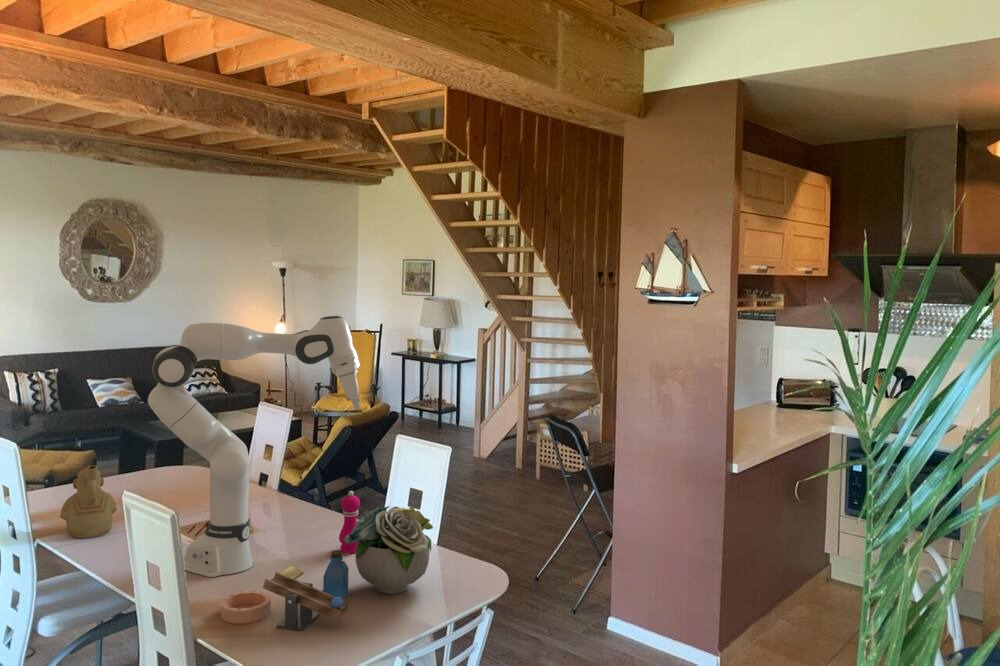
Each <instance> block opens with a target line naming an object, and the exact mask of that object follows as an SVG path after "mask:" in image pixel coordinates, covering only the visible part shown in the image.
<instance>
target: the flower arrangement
mask: <svg viewBox="0 0 1000 666" xmlns="http://www.w3.org/2000/svg"><path fill="white" fill-rule="evenodd" d="M390 507H391V506H381V507H378V506H377V507H376V508H375V509H373V510H371V511H370V512H368V511H367V510H365V511H364V512H363V514H362V515H363V516H362V517H361V518H359V520H357V523H356V525H355V527H354V528H353V531H352V532H351V534H348V535H347V536H346V537H345V539H344V541H345V542H346V543H353V542H356V541H358V542H359V543H358V545H357V546H356V553H355V565H356V568H357V570H358V573H359V575H360V576H361V579H364V580H365V581H366V582H367V583H369V584H371V585H373V586H375V587H376V589H377V590H378V592H380V593H383V594H388V595H390V594H391V595H395V593H396V594H400V593H403V592H405V591H406V590H407V589H408V586H410V585H411V584H414V583H415V582H416V581H418V580H419V579H421V577H423V576H424V575H425V574H426V571H427V569H428V565H429V562H430V552H432V539H431V538H430V537H429V536H428V535H426V534H424V530H432V529H433V528H434V527H433V526H434V525H433V524H432V523H431V522H430V521H431V520H430V519H429V518H427V517H426V516H424V515H423V514H422V512H421V511H420V510H415V507H414V506H410V507H409V506H408V508H406V507H400V506H393V507H391V508H390ZM388 508H390V509H388ZM387 509H388V511H387Z"/></svg>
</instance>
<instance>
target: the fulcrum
mask: <svg viewBox="0 0 1000 666" xmlns="http://www.w3.org/2000/svg"><path fill="white" fill-rule="evenodd" d="M301 582H302V581H301ZM302 583H304V584H307V585H309V586H311V587H313V586H314V585H313V583H311V582H302ZM284 599H285V600H284V602H285V603H284V605H285V606H284V607H285V609H284V618H283V619H282V620H280V622H278V623H277V624H276V629H281V630H288V631H293V632H294V631H295V632H300V633H301V632H303V631H304V630H305V629H307V627H309V626H310V625H311V624H312V623H313V622H314V621H315V620H317V619H318V618H319V617H320V616H321V613H319V612H316V611H314V610H312V609H310V608H307V607H305V606H303V605H300V604H298V595H295V594H288V593H287V594H286V595H285V598H284Z"/></svg>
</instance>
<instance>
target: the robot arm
mask: <svg viewBox="0 0 1000 666" xmlns="http://www.w3.org/2000/svg"><path fill="white" fill-rule="evenodd" d="M180 339H181V340H180V343H179V344H173V345H168V346H167V347H164V348H163V349H162V350H160V351H159V352H158V353H157V354H156V356H155V358H154V360H153V363H152V366H151V368H152V369H151V372H152V375H153V377H154V379H155V381H157V385H156V386H155V387H154V388H153V389H152V390H151V391H150V393H149V394H148V397H147V403H148V406H149V408H150V409H151V410H152V411H153V412H154V414H155V415H156V417H157V418H158V419H159V421H161V423H163V424H164V425H165V426H166V427H167V429H169V430H170V431H171V432H172V433H173V434H174V435H175V436H177V438H179V440H180V441H182V442H183V443H184V445H186V446H187V447H188V448H190V449H192V450H193V451H195V452H196V453H197V454H199V455H200V456H201V457H203V458H204V459H205V460H207V461H208V462H209V464H210V465H209V470H210V471H209V476H210V477H209V480H210V481H209V486H210V487H209V499H210V501H209V503H210V504H209V506H210V507H209V515H210V516H209V521H207V522H206V523H204V524H202V525H201V526H202V527H201V529H202V530H203V529H205V530H204V533H203V534H201V535H200V536H198V537H197V538H196V539H195V540H194V541H192V542H191V543H189V545H188V546H187V548H186V551H185V555H184V561H185V568H186V571H185V572H190V573H194V574H196V575H200V576H201V575H202V576H205V577H208V578H215V577H218V576H222V575H223V576H224V575H232V574H237V573H240V572H245V571H247V570H248V569H250V568H251V567H253V566H254V560H253V557H252V551H251V545H250V532H251V524H250V523H251V522H250V521H251V520H250V518H249V490H250V489H249V487H250V456H249V450H248V447H247V445H246V443H244V441H242V439H240V438H239V437H238V436H237V435H236V434H235V433H234V432H232V431H231V430H230V429H229V428H227V427H226V426H225V425H224V424H222V423H221V422H220V421H219V420H218V419H216V418H215V416H213V415H212V413H210V412H209V410H207V409H206V407H204V406H203V405H202V404H201V403H200V402H199V401H198V400H197V399H196V398H195V397H194V396H192V394H190V392H189V391H188V389H187V388H186V383H187V382H188V381H189V380H190V378H191V377H192V376H193V374H194V371H195V367H196V366H197V363H198V362H199V361H202V360H216V361H237V360H238V361H239V360H244V359H247V358H249V357H252V356H253V355H259V354H268V353H269V354H278V355H280V354H283V355H284V354H285V355H291V356H293V357H296V358H297V359H298V360H299V361H300V362H301V363H304V364H305V365H314V364H315V365H316V364H319V363H320V362H321V361H323V360H326V359H327V358H328V362H329V365H330V369H331V371H332V374H334V375H335V377H336V378H338V379H339V381H340V385H341V387H342V389H343V392H344V394H345V397H347V399H348V400H350V401H351V403H352V406H353V409H354V410H357V411H358V410H359V409H360V408H361V406H360V405H361V404H360V397H359V395H360V394H359V383H358V378H357V374H358V372H359V371H358V368H359V367H361V364H360V360H359V357H358V353H357V350H356V349H355V347H354V344H353V336H352V333H351V329H350V328H349V325H348V323H347V320H346V319H345V318H344V317H342V316H341V315H340V316H339V315H329V316H323V317H321V318H319V320H318V321H317V323H316V324H315V325H313V327H311V328H310V329H307V330H301V331H299V332H295V333H292V334H289V333H287V334H285V333H273V332H272V333H270V332H261V331H259V330H254V329H252V328H249V327H247V326H241V325H238V324H237V325H236V324H230V323H225V322H224V323H223V322H201V323H191V324H189V325H188V326H186V327H185V329H184V330H183V331H182V334H181V338H180Z"/></svg>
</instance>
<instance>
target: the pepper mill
mask: <svg viewBox="0 0 1000 666" xmlns="http://www.w3.org/2000/svg"><path fill="white" fill-rule="evenodd" d="M347 494H348V495H346V496H345V497H343V498H342V500H341V504H340V505H341V508H342V509H343V510H342V515H343V518H344V519H343V525H342V528H341V530H340V533H339V535H338V539H339V540H338V541H339V542H340V544H341V545H340V549H339V550H340V551H342V554H345V553H346V554H347V555H352V554H353V553H354V554H356V546H357V545H358V543H359V542H358V541H356V542H353V543H346V542H345V541H344V539H345V537H346V536H347V535H348V534H351V532H352V531H353V528H354V527H355V525H356V523H357V522H358V515H359V510H358V509H359V508H360V506H361V501H360V498H359V497H358V496H357V495H354V491H353V490H349V491H348V493H347ZM354 554H353V555H354Z"/></svg>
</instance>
